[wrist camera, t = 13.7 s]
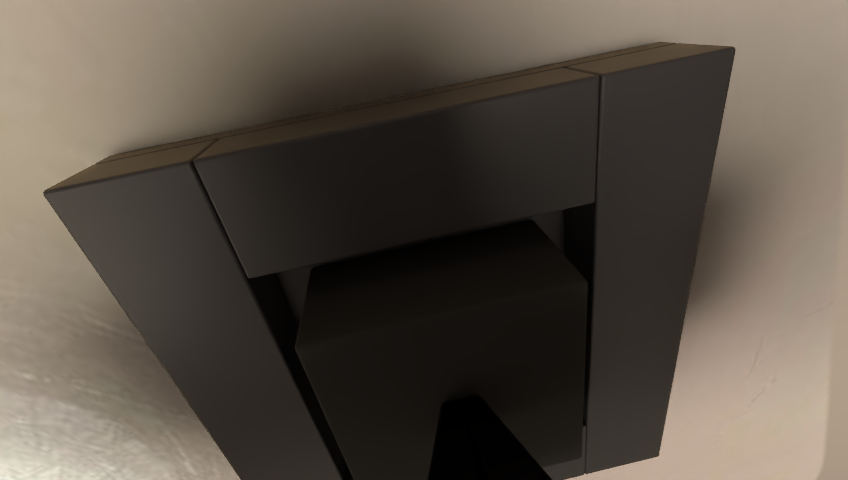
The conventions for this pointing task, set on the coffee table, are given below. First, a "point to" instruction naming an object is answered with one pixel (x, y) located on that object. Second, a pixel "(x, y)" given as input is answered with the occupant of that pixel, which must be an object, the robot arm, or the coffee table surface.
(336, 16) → the coffee table surface
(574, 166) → the base pad
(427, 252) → the black angular block
